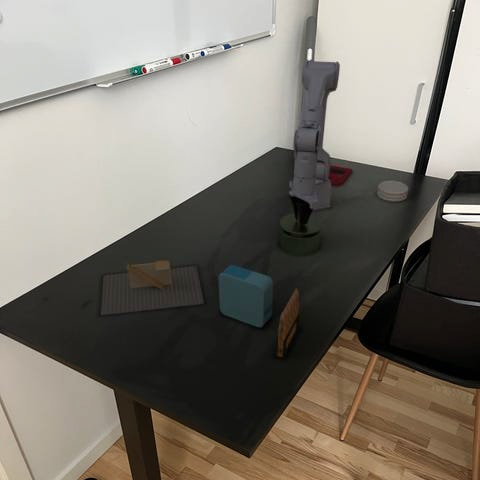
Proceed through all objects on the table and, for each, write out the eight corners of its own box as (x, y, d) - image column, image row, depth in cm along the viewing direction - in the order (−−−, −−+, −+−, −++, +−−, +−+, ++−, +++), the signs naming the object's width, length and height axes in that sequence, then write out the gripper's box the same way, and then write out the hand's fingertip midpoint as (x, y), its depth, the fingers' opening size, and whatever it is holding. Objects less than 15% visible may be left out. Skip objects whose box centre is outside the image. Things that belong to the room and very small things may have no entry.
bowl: (308, 232, 151) (310, 216, 148) (325, 251, 143) (327, 234, 140) (274, 239, 149) (275, 223, 145) (289, 258, 140) (290, 241, 137)
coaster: (377, 188, 175) (379, 178, 173) (407, 191, 173) (409, 181, 171) (375, 200, 168) (377, 190, 166) (406, 203, 166) (408, 194, 164)
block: (298, 239, 148) (299, 227, 145) (309, 243, 146) (310, 231, 143) (289, 244, 146) (290, 232, 143) (300, 249, 143) (301, 236, 141)
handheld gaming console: (314, 178, 179) (328, 164, 189) (314, 182, 180) (327, 167, 190) (340, 183, 176) (352, 168, 186) (340, 187, 176) (352, 171, 187)
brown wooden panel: (290, 327, 117) (293, 285, 109) (298, 329, 116) (302, 287, 109) (275, 356, 109) (277, 313, 102) (283, 358, 109) (286, 315, 101)
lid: (311, 213, 148) (312, 197, 145) (329, 232, 139) (331, 215, 136) (273, 220, 145) (274, 204, 142) (290, 240, 136) (291, 223, 133)
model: (172, 290, 129) (169, 265, 124) (130, 294, 128) (126, 269, 123) (172, 283, 131) (169, 258, 127) (130, 287, 130) (126, 262, 125)
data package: (272, 319, 119) (273, 277, 112) (263, 329, 116) (264, 287, 109) (229, 303, 124) (228, 262, 117) (219, 313, 121) (217, 272, 114)
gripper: (280, 166, 137) (278, 212, 145) (302, 188, 126) (299, 235, 135) (303, 163, 139) (300, 208, 147) (327, 183, 128) (322, 231, 136)
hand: (301, 221), depth 141 cm, fingers closed on lid, 2 cm apart
